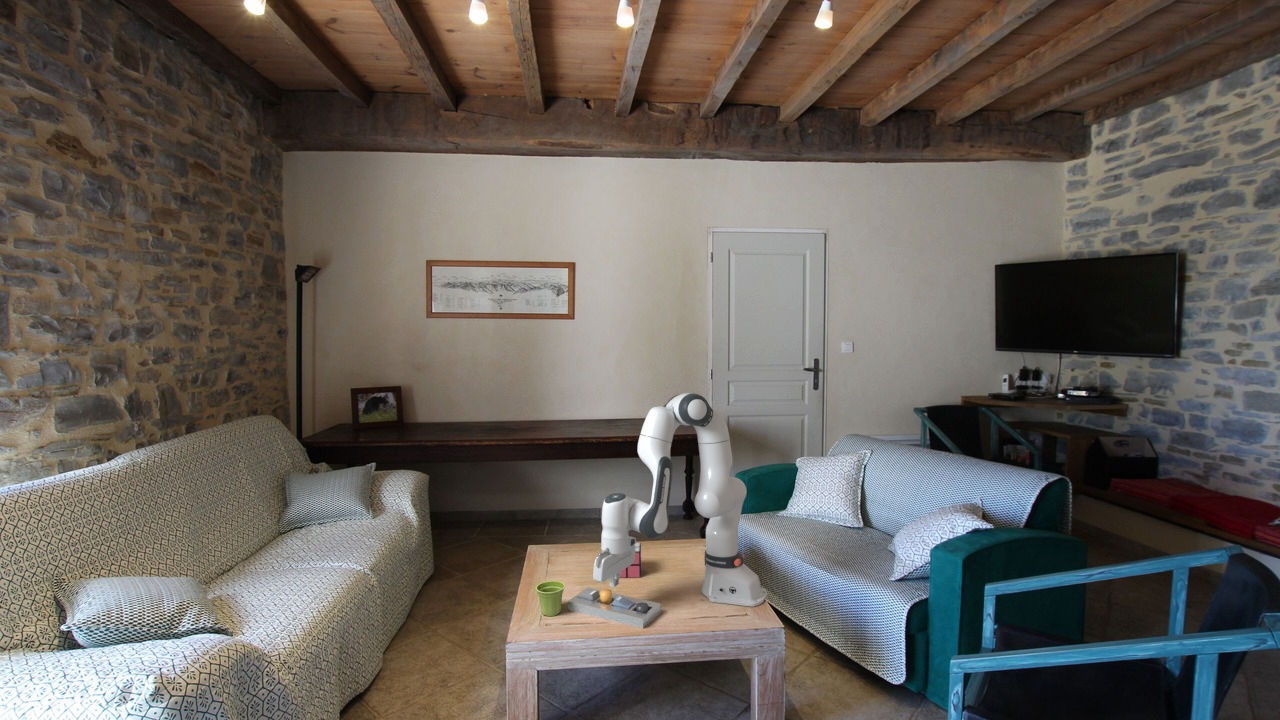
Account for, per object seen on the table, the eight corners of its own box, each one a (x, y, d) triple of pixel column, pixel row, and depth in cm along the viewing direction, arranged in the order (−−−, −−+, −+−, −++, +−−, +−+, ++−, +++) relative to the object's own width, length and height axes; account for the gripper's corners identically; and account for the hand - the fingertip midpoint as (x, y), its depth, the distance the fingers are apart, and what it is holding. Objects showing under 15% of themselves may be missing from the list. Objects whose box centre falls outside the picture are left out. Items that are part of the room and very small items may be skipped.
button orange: (614, 601, 204) (613, 590, 204) (608, 605, 201) (607, 594, 201) (604, 598, 206) (604, 588, 206) (598, 603, 203) (597, 592, 203)
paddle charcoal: (599, 595, 207) (598, 589, 207) (592, 600, 204) (591, 594, 204) (586, 596, 210) (584, 591, 210) (579, 601, 206) (578, 595, 207)
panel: (660, 612, 201) (660, 603, 201) (643, 628, 190) (642, 618, 190) (588, 596, 214) (588, 587, 214) (568, 609, 204) (567, 601, 204)
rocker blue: (633, 607, 201) (634, 602, 201) (627, 612, 198) (628, 607, 197) (619, 600, 204) (620, 594, 203) (612, 605, 200) (614, 599, 200)
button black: (650, 615, 198) (650, 603, 198) (644, 619, 195) (644, 608, 195) (639, 612, 200) (639, 601, 200) (634, 617, 197) (634, 606, 196)
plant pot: (538, 621, 196) (537, 594, 196) (534, 608, 205) (534, 582, 205) (567, 616, 199) (567, 590, 199) (562, 604, 208) (562, 579, 208)
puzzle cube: (640, 578, 229) (640, 551, 229) (613, 578, 230) (613, 551, 229) (641, 567, 239) (640, 542, 239) (615, 568, 240) (614, 542, 239)
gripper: (605, 556, 191) (604, 600, 192) (638, 537, 209) (638, 577, 209) (588, 552, 194) (587, 595, 195) (622, 533, 212) (622, 572, 213)
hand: (614, 585), depth 202 cm, fingers closed
